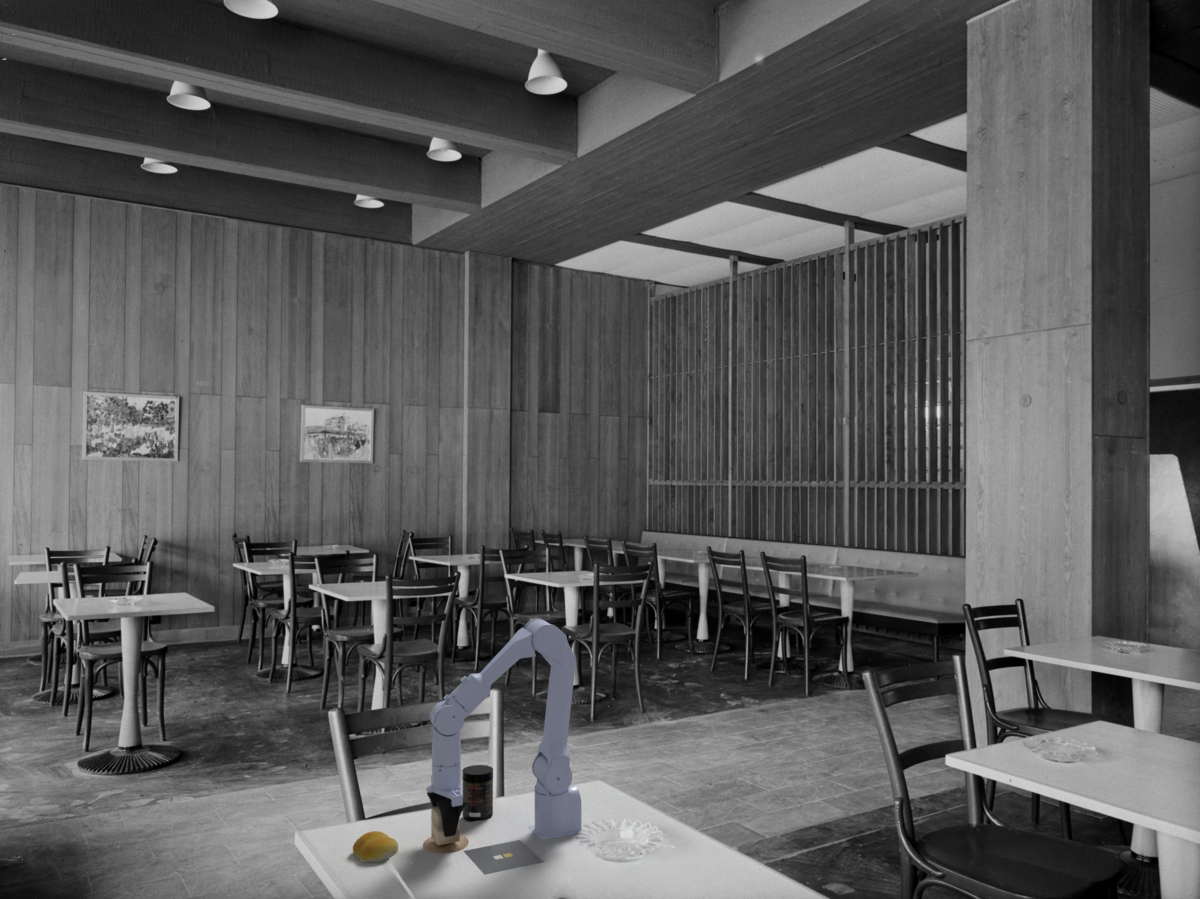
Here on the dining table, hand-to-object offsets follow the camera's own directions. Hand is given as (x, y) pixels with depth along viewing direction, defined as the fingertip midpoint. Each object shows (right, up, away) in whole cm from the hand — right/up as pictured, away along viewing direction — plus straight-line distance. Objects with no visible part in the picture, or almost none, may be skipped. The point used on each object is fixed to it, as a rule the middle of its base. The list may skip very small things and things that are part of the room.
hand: (446, 831), depth 184 cm
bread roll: (-13, -4, -4) cm, 14 cm away
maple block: (0, -2, 0) cm, 2 cm away
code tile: (+12, -3, -6) cm, 14 cm away
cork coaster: (0, -3, 0) cm, 3 cm away
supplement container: (+4, -4, +16) cm, 17 cm away
